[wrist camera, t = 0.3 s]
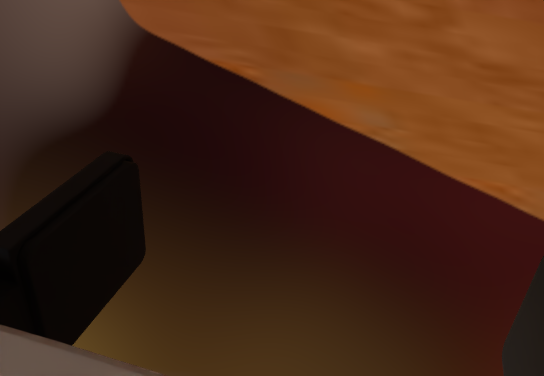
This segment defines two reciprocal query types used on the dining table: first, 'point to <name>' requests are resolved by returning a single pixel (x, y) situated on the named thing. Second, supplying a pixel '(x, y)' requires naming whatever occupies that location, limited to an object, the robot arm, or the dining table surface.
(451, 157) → the dining table surface
